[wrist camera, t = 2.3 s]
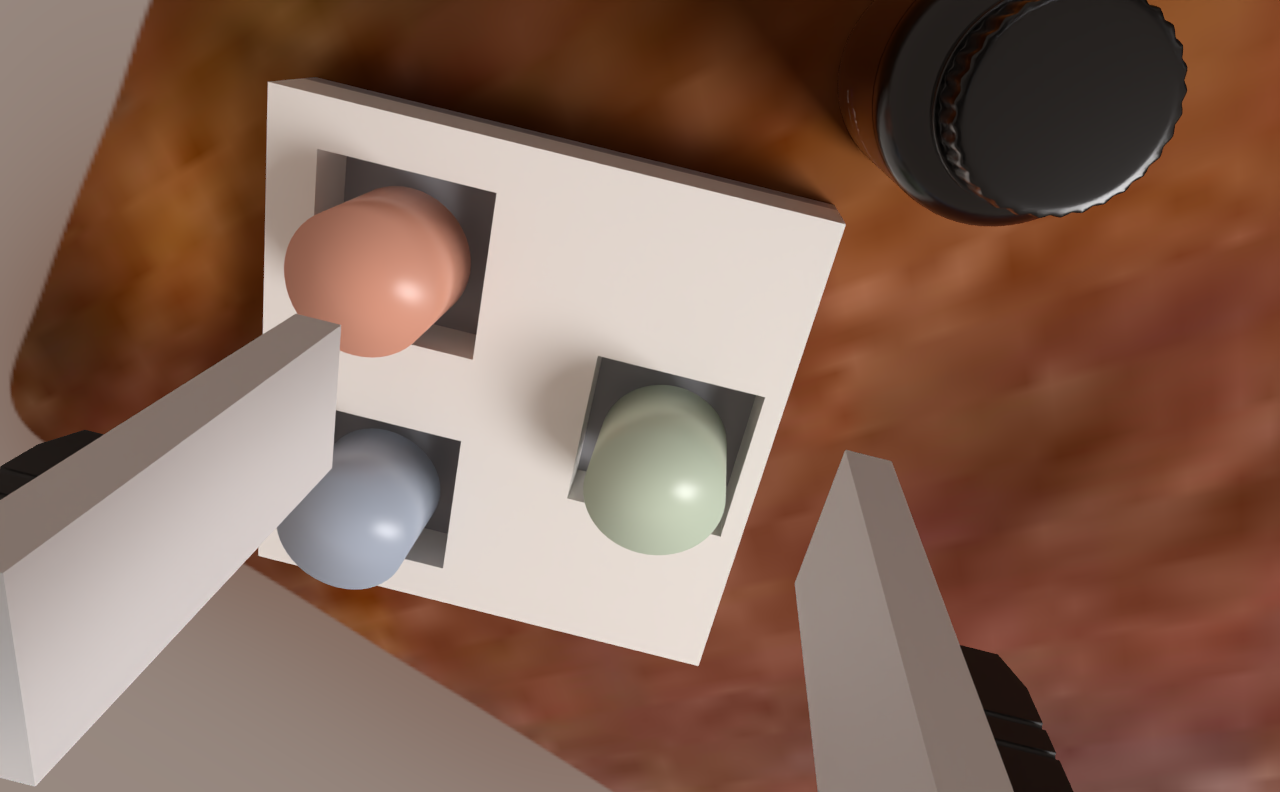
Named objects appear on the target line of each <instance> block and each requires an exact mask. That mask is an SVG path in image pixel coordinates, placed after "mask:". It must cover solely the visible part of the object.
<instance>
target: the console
mask: <svg viewBox="0 0 1280 792" xmlns="http://www.w3.org/2000/svg"><path fill="white" fill-rule="evenodd" d="M388 186H403V187H409V188H413V189H416V190H419V191H422V192H424V193H426V194H428V195H430V196H432V197H433V198H435V199H437V200H438V201H439V202H440V203H442V204H443V205H444V206H445V207H446V208H447V209H448V210H449V211H450V212H451V213H452V214H453V216H454V217H455V218H456V219H457V221H458V222H459V224H460V226H461V227H462V229H463V231H464V234H465V236H466V239H467V242H468V245H469V249H470V256H471V269H470V276H469V280H468V283H467V286H466V288H465V290H464V292H463V294H462V295H461V297H460V298H459V299H458V301H457V302H456V303H455V304H454V305H453V306H452V307H451V308H450V309H448V310H447V311H446V312H445V313H444V314H443V315H442V316H441V317H440V318H439V319H438V320H437V321H436V322H435V323H434V324H433V325H432V326H431V327H430V328H429V329H428V330H426V331H425V332H424V333H423V334H422V335H421V336H420V337H419V338H418V339H417V340H416V341H415V342H414V343H413V344H411V345H410V346H409V347H407V348H406V349H404V350H402V351H400V352H398V353H395V354H392V355H389V356H384V357H373V358H371V357H360V356H355V355H351V354H348V353H345V352H342V351H340V353H339V368H338V384H337V399H336V415H335V431H334V444H335V443H336V442H337V441H338V440H339V439H340V438H342V437H343V436H344V435H346V434H348V433H350V432H353V431H356V430H361V429H370V428H374V429H383V430H388V431H391V432H395V433H397V434H399V435H402V436H404V437H405V438H407V439H409V440H411V441H412V442H413V443H415V444H416V445H417V446H418V447H420V448H421V449H422V450H423V451H424V452H425V454H426V455H427V456H428V457H429V459H430V460H431V461H432V463H433V465H434V467H435V469H436V471H437V474H438V477H439V481H440V489H441V490H440V499H439V503H438V506H437V508H436V510H435V511H434V513H433V515H432V516H431V518H430V520H429V521H428V523H427V524H426V526H425V527H424V529H423V531H422V532H421V534H420V535H419V537H418V539H417V540H416V542H415V543H414V545H413V546H412V548H411V550H410V551H409V553H408V554H407V556H406V558H405V559H404V561H403V562H402V564H401V565H400V567H399V569H398V570H397V571H396V573H395V574H394V575H393V576H392V577H391V578H389V579H388V580H387V581H385V582H383V583H382V584H379V585H377V586H381V587H385V588H389V589H393V590H397V591H401V592H405V593H409V594H413V595H417V596H421V597H425V598H429V599H433V600H437V601H441V602H445V603H449V604H453V605H457V606H461V607H465V608H469V609H473V610H477V611H481V612H485V613H489V614H493V615H497V616H501V617H505V618H509V619H513V620H517V621H521V622H525V623H529V624H533V625H537V626H541V627H545V628H549V629H553V630H557V631H561V632H565V633H569V634H573V635H577V636H581V637H585V638H589V639H593V640H597V641H601V642H605V643H609V644H613V645H617V646H621V647H625V648H629V649H633V650H637V651H641V652H645V653H649V654H653V655H657V656H661V657H665V658H669V659H673V660H677V661H681V662H685V663H689V664H693V665H697V666H698V665H699V662H700V659H701V656H702V653H703V650H704V647H705V644H706V641H707V638H708V635H709V632H710V629H711V626H712V623H713V620H714V617H715V614H716V611H717V608H718V605H719V602H720V599H721V596H722V593H723V590H724V588H725V585H726V582H727V579H728V576H729V573H730V570H731V567H732V564H733V561H734V558H735V555H736V552H737V549H738V546H739V543H740V540H741V537H742V534H743V531H744V528H745V525H746V522H747V519H748V516H749V513H750V510H751V507H752V504H753V501H754V498H755V495H756V492H757V489H758V486H759V483H760V480H761V477H762V474H763V471H764V468H765V465H766V462H767V459H768V456H769V453H770V450H771V447H772V444H773V441H774V438H775V435H776V432H777V429H778V426H779V423H780V420H781V417H782V414H783V411H784V408H785V405H786V402H787V399H788V396H789V393H790V390H791V387H792V384H793V381H794V378H795V375H796V372H797V369H798V366H799V363H800V360H801V357H802V354H803V351H804V348H805V345H806V342H807V339H808V336H809V333H810V330H811V327H812V324H813V321H814V318H815V315H816V312H817V309H818V306H819V303H820V300H821V297H822V294H823V291H824V288H825V285H826V282H827V279H828V276H829V273H830V270H831V267H832V264H833V261H834V258H835V255H836V252H837V249H838V246H839V243H840V240H841V237H842V234H843V231H844V228H845V225H846V224H845V222H844V221H843V219H842V217H841V215H840V214H839V212H838V210H837V209H836V207H835V205H832V204H828V203H824V202H820V201H816V200H812V199H808V198H804V197H800V196H796V195H792V194H788V193H784V192H780V191H775V190H771V189H767V188H763V187H759V186H755V185H751V184H747V183H743V182H739V181H735V180H731V179H727V178H723V177H719V176H715V175H711V174H707V173H702V172H698V171H694V170H690V169H686V168H682V167H678V166H674V165H670V164H666V163H662V162H658V161H654V160H650V159H646V158H642V157H638V156H634V155H629V154H625V153H621V152H617V151H613V150H609V149H605V148H601V147H597V146H593V145H589V144H585V143H581V142H577V141H573V140H569V139H565V138H561V137H556V136H552V135H548V134H544V133H540V132H536V131H532V130H528V129H524V128H520V127H516V126H512V125H508V124H504V123H500V122H496V121H492V120H488V119H483V118H479V117H475V116H471V115H467V114H463V113H459V112H455V111H451V110H447V109H443V108H439V107H435V106H431V105H427V104H423V103H419V102H415V101H410V100H406V99H402V98H398V97H394V96H390V95H386V94H382V93H378V92H374V91H370V90H366V89H362V88H358V87H354V86H350V85H346V84H342V83H337V82H333V81H329V80H325V79H321V78H317V77H312V78H302V79H291V80H281V81H271V82H268V100H267V150H266V201H265V251H264V301H263V334H264V333H266V332H267V331H269V330H271V329H272V328H274V327H275V326H277V325H278V324H280V323H282V322H283V321H285V320H286V319H288V318H290V317H291V316H293V315H294V314H297V312H296V310H295V309H294V307H293V305H292V303H291V300H290V298H289V295H288V292H287V289H286V284H285V278H284V261H285V255H286V251H287V247H288V245H289V243H290V240H291V238H292V237H293V235H294V233H295V232H296V231H297V230H298V228H299V227H300V226H301V225H302V224H303V223H304V222H305V221H307V220H308V219H309V218H311V217H313V216H314V215H316V214H318V213H321V212H323V211H325V210H328V209H330V208H332V207H335V206H337V205H339V204H342V203H344V202H346V201H349V200H351V199H353V198H356V197H358V196H361V195H363V194H365V193H368V192H370V191H372V190H375V189H378V188H382V187H388ZM651 385H671V386H676V387H680V388H683V389H686V390H689V391H691V392H693V393H695V394H697V395H698V396H700V397H701V398H703V399H704V400H705V401H706V402H708V403H709V404H710V405H711V406H712V407H713V409H714V410H715V411H716V413H717V414H718V415H719V417H720V419H721V421H722V423H723V426H724V428H725V433H726V439H727V462H726V502H725V508H724V513H723V515H722V518H721V520H720V522H719V524H718V525H717V527H716V528H715V530H714V531H713V532H712V533H711V534H710V535H709V536H708V537H707V538H706V539H705V540H704V541H702V542H701V543H700V544H698V545H696V546H694V547H693V548H691V549H688V550H686V551H683V552H679V553H675V554H669V555H647V554H642V553H637V552H634V551H631V550H628V549H626V548H624V547H621V546H620V545H618V544H616V543H614V542H613V541H611V540H610V539H609V538H607V537H606V536H605V535H604V534H603V533H602V532H601V531H600V530H599V529H598V528H597V526H596V525H595V524H594V522H593V521H592V519H591V518H590V516H589V513H588V511H587V509H586V505H585V502H584V495H583V485H584V478H585V475H586V472H587V468H588V466H589V463H590V460H591V457H592V454H593V451H594V448H595V445H596V442H597V439H598V436H599V433H600V430H601V427H602V424H603V421H604V419H605V417H606V415H607V413H608V412H609V410H610V409H611V407H612V406H613V405H614V404H615V403H616V402H617V401H618V400H619V399H620V398H622V397H623V396H624V395H626V394H628V393H629V392H631V391H634V390H636V389H639V388H642V387H646V386H651ZM258 556H261V557H265V558H269V559H273V560H277V561H281V562H285V563H289V564H293V565H297V564H296V563H295V562H294V561H293V560H292V559H291V558H290V556H289V555H288V554H287V552H286V551H285V549H284V547H283V545H282V543H281V541H280V538H279V535H278V532H277V528H276V529H275V530H274V531H273V532H272V533H271V534H270V535H269V536H268V537H267V538H266V540H265V541H264V542H263V543H262V544H261V545H260V546H259V551H258ZM297 566H298V565H297Z"/></svg>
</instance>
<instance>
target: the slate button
mask: <svg viewBox="0 0 1280 792" xmlns="http://www.w3.org/2000/svg"><path fill="white" fill-rule="evenodd" d="M440 490H441V489H440V481H439V477H438V474H437V471H436V469H435V467H434V465H433V463H432V461H431V460H430V459H429V457H428V456H427V455H426V454H425V452H424V451H423V450H422V449H421V448H420V447H418V446H417V445H416V444H415V443H413V442H412V441H411V440H409V439H407V438H405V437H404V436H402V435H399V434H397V433H395V432H391V431H388V430H383V429H374V428H370V429H361V430H356V431H353V432H350V433H348V434H346V435H344V436H343V437H342V438H340V439H339V440H338V441H337V442H336V443H335V444H334V446H333V462H332V469H331V470H330V471H329V472H328V473H327V474H326V475H325V476H324V477H323V478H322V479H321V481H320V482H319V483H318V484H317V485H316V486H315V487H314V488H313V489H312V490H311V491H310V492H309V493H308V494H307V496H306V497H305V498H304V499H303V500H302V501H301V502H300V503H299V504H298V505H297V506H296V507H295V508H294V509H293V511H292V512H291V513H290V514H289V515H288V516H287V517H286V518H285V519H284V520H283V521H282V522H281V523H280V524H279V526H278V527H277V532H278V535H279V538H280V541H281V543H282V545H283V547H284V549H285V551H286V552H287V554H288V555H289V556H290V558H291V559H292V560H293V561H294V562H295V563H296V564H297V565H298V566H299V567H300V568H301V569H302V570H304V571H305V572H306V573H307V574H309V575H310V576H312V577H314V578H315V579H317V580H319V581H321V582H324V583H326V584H328V585H332V586H335V587H339V588H344V589H365V588H370V587H374V586H377V585H379V584H382V583H383V582H385V581H387V580H388V579H389V578H391V577H392V576H393V575H394V574H395V573H396V571H397V570H398V569H399V567H400V565H401V564H402V562H403V561H404V559H405V558H406V556H407V554H408V553H409V551H410V550H411V548H412V546H413V545H414V543H415V542H416V540H417V539H418V537H419V535H420V534H421V532H422V531H423V529H424V527H425V526H426V524H427V523H428V521H429V520H430V518H431V516H432V515H433V513H434V511H435V510H436V508H437V506H438V503H439V499H440Z"/></svg>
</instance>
